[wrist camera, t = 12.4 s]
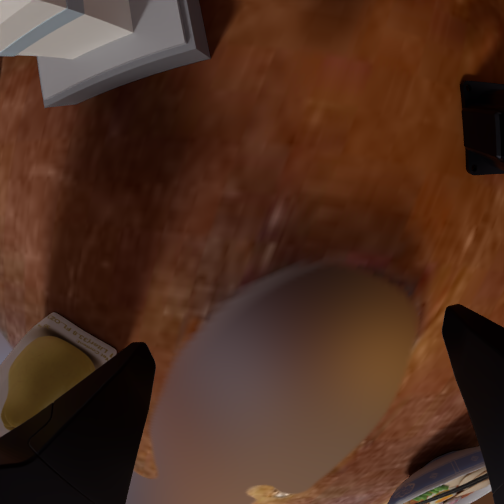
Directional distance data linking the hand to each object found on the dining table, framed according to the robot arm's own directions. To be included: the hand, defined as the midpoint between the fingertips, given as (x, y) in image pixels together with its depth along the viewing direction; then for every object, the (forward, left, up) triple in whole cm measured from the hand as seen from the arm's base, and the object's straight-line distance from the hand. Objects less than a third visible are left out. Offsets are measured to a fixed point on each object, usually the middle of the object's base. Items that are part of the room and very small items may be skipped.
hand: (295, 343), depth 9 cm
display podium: (+8, -15, -13) cm, 21 cm away
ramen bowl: (-20, +43, -13) cm, 49 cm away
